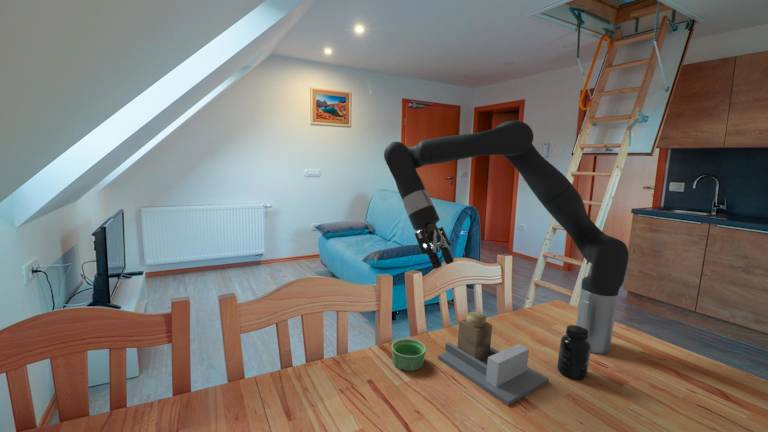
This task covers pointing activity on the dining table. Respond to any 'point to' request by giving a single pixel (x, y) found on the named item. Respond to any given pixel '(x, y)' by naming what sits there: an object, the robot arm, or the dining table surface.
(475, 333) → the brown bottle-shaped block
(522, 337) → the dining table surface
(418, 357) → the ramekin
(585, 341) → the supplement bottle
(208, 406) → the dining table surface
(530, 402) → the dining table surface
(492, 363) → the mount
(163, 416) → the dining table surface
